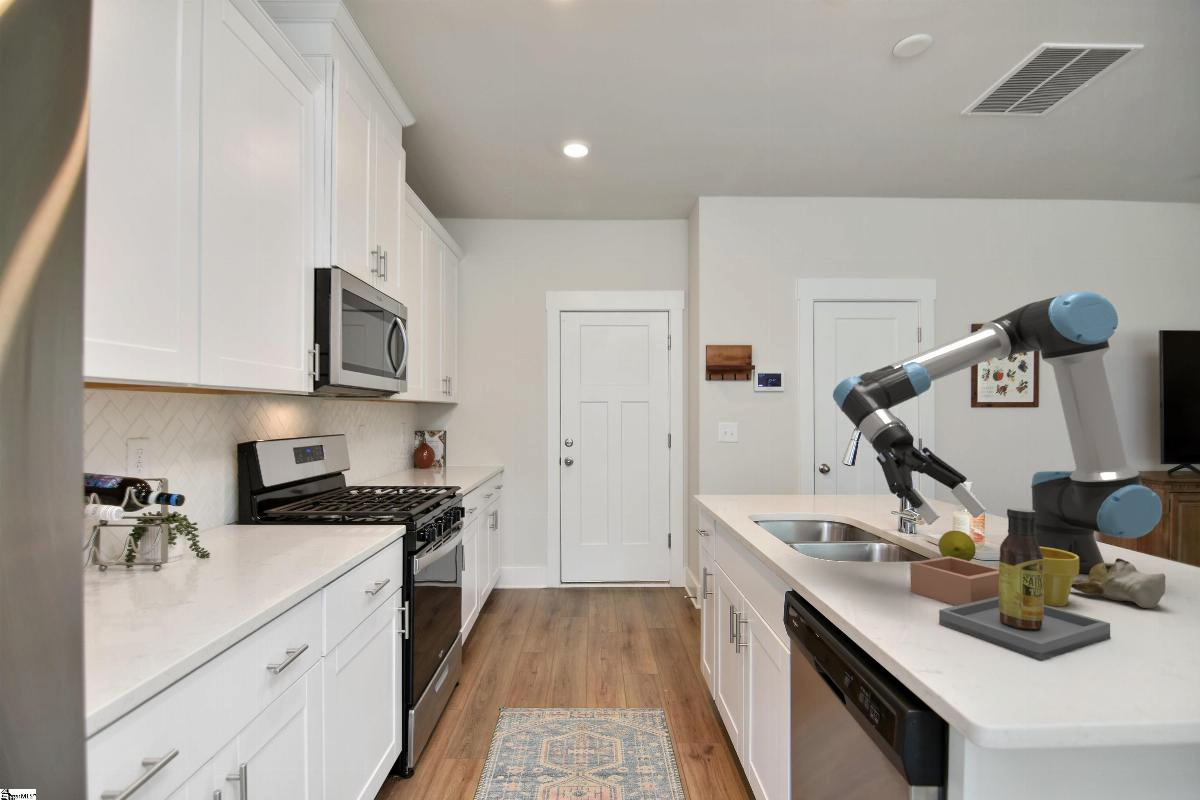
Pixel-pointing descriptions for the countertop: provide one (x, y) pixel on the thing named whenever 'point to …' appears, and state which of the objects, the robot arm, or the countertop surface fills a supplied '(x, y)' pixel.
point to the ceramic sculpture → (1123, 583)
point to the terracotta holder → (954, 580)
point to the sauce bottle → (1021, 573)
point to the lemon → (957, 545)
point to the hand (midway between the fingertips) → (958, 517)
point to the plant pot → (1058, 575)
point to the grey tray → (1049, 641)
